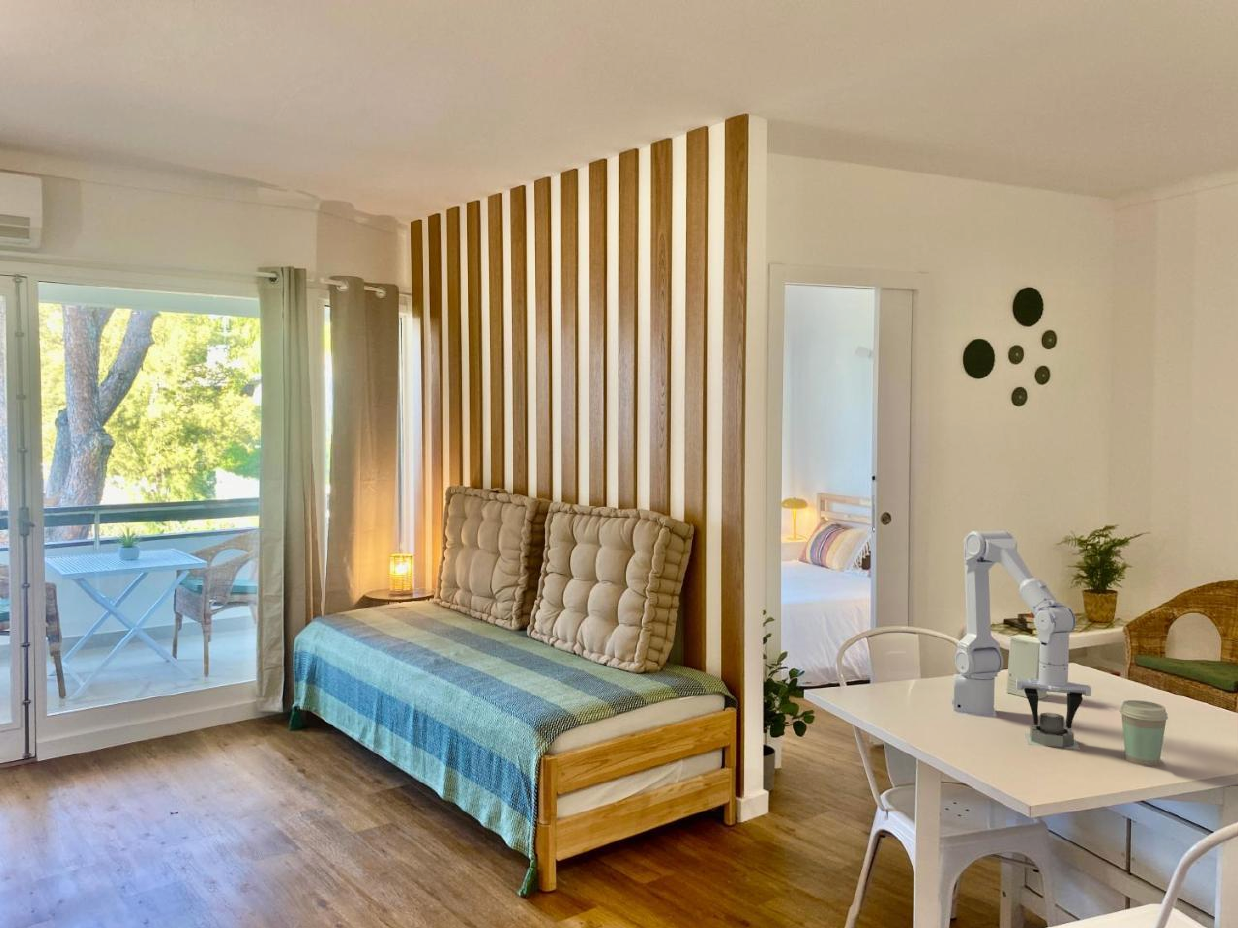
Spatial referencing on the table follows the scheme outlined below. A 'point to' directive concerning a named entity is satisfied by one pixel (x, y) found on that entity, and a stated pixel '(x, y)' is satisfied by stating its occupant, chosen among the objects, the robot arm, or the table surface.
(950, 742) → the table surface
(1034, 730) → the octagonal ring mount
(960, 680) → the robot arm
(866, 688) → the table surface
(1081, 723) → the table surface
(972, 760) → the table surface
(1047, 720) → the cap
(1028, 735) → the plate
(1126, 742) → the coffee cup
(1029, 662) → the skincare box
